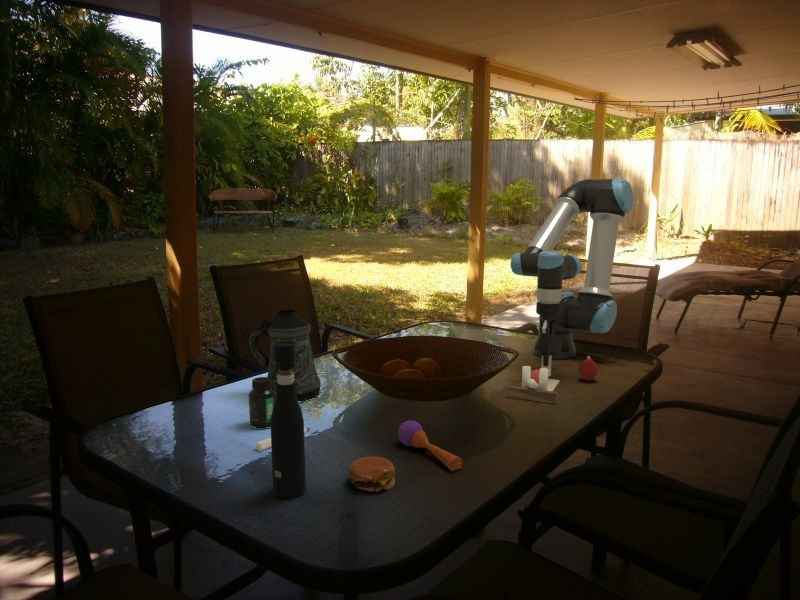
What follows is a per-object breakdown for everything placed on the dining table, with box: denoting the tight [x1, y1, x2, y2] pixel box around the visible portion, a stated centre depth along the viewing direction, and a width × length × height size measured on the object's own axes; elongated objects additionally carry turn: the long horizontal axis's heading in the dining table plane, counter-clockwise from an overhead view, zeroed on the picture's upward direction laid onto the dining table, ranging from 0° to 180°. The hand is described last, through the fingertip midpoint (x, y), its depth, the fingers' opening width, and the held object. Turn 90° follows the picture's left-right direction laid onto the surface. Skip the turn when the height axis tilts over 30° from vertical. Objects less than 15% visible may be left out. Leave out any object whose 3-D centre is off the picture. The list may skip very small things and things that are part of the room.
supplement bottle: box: [248, 376, 276, 428], centre depth 154 cm, size 7×7×12 cm
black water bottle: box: [270, 342, 307, 500], centre depth 118 cm, size 6×6×30 cm
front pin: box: [527, 379, 539, 390], centre depth 176 cm, size 2×2×8 cm
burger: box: [348, 456, 396, 493], centre depth 123 cm, size 10×9×5 cm
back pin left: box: [539, 367, 549, 391], centre depth 175 cm, size 2×2×8 cm
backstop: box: [506, 385, 558, 405], centre depth 174 cm, size 2×14×3 cm, turn 65°
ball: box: [531, 368, 540, 385], centre depth 183 cm, size 6×6×6 cm
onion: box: [578, 355, 599, 382], centre depth 191 cm, size 6×6×8 cm
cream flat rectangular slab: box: [530, 378, 560, 392], centre depth 188 cm, size 13×8×1 cm, turn 155°
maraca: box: [397, 420, 463, 472], centre depth 137 cm, size 6×6×20 cm
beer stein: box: [248, 309, 322, 402], centre depth 176 cm, size 16×19×25 cm
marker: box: [254, 427, 311, 452], centre depth 145 cm, size 3×2×16 cm
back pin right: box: [521, 365, 532, 388], centre depth 177 cm, size 2×2×8 cm
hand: (546, 375), depth 191 cm, fingers closed
